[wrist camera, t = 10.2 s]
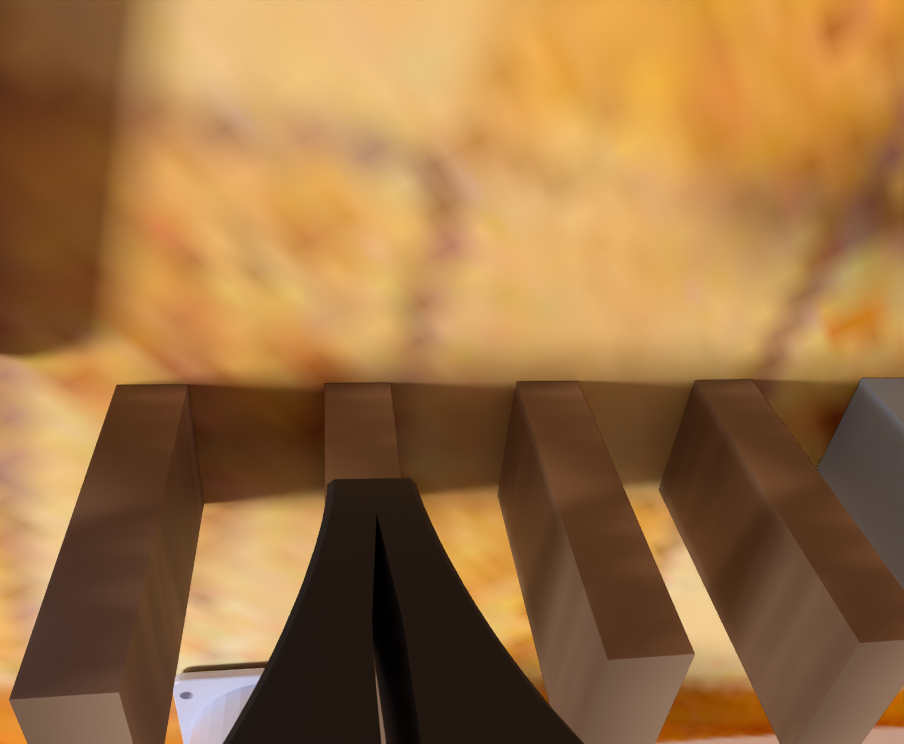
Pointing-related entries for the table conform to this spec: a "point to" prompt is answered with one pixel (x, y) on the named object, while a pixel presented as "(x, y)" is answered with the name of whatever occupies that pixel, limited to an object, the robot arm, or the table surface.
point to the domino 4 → (785, 568)
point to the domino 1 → (119, 582)
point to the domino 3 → (587, 573)
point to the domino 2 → (360, 441)
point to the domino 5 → (872, 467)
